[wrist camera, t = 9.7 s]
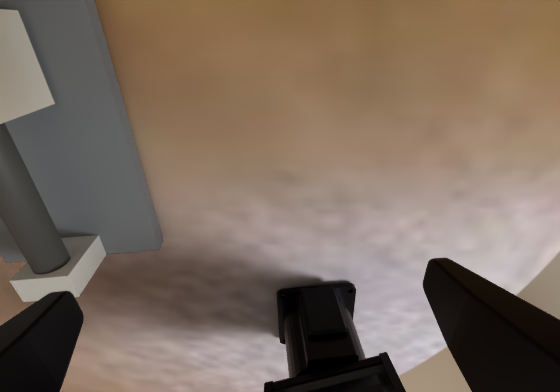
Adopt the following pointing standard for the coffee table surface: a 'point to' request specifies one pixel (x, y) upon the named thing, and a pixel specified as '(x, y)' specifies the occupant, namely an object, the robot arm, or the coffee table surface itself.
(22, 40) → the sleeve
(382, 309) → the coffee table surface
